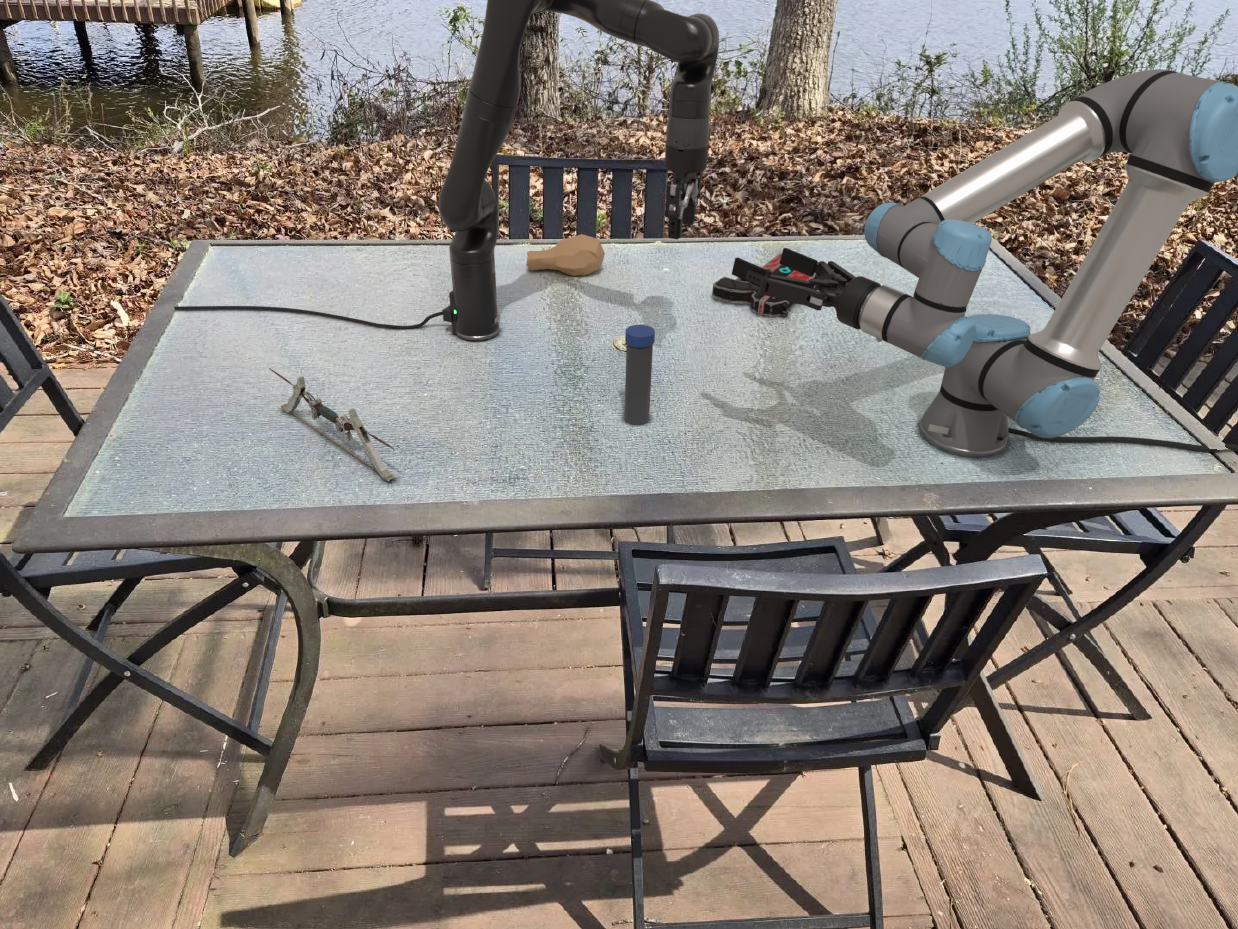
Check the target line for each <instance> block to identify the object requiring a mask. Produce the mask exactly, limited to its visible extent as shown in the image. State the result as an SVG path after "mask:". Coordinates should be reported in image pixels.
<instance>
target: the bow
mask: <svg viewBox="0 0 1238 929" xmlns="http://www.w3.org/2000/svg"><path fill="white" fill-rule="evenodd" d="M269 370H270V371H271V372H272V373H274V374H275V375H277V376H278V377H279V378H281V379H282V380H283V381H285V382H286V383H288V384H289V385H291V386H292V389H293V391H292V395H291V396H290V397H289V398H288V400H287V403H284V404H282V405H280V409H281V410H282V411H283V412H285V413H288V414H289V413H290V414H292V415H293V416H295V417H296V418H297V419H299V420H300V421H302V422H303V423H305V425H308V426H309V427H310V428H312V429H314V430H315V431H316V432H318V433H319V434H321V435H323V436H324V437H325V438H327V439H328V440H330V441H331V442H333V443H334V444H336V445H337V446H339V447H340V448H342V449H343V450H344V451H346V452H347V453H349V454H350V455H352V456H353V457H355V458H356V459H358V460H359V461H360V462H362V463H363V464H365V465H366V466H368V467H369V468H371V469H372V470H374V471H375V472H377V473H378V474H379V476H380V477H381V478H382V480H384V481H386V482H388V483H389V482H391V480H396V479H395V478H396V477H395V476H393V474H392V473H391V472H390V471H389V470H388V469H387V468H386V466H385V465H384V462H383V461H382V458H381V457H380V454H379V452H378V451H377V450H376V448H375V446H374V444H373V443H372V440H371V438H370V437H372V438H373V439H375V440H376V441H378V442H379V443H381V444H383V445H384V446H387V447H388V448H390V449H392V450H394V449H395V447H393V446H392V445H390V444H389V443H387V442H385V441H384V440H382V439H381V438H380V437H378V436H376V435H373V434H372V433H370V432H368V430H367V429H366V427H365V426H364V424H363V422H362V420H361V419H360V417H359V415H358V412H357V411H356V408H354V407H353V408H350V409H348V415H349V416H348V415H347V414H343V415H341V416H339V415H338V413H337V412H336V411H334V410H333V409H331V408H330V407H327V406H326V405H324V404H323V401H322V398H321V397H317V398H315V397H314V396H313V394H311V393H310V392H309V391H306V387H307V385H306V380H305V377H304V375H302V376H300V377H299V376H298V377H297V380H296V383H295V384H293V383H292V382H291V381H290V380H289V379H287V378H286V377H284V376H283V375H282V374H280V373H278V372H277V371H275V370H274V369H272V368H270V367H269ZM302 398H303V399H304V401H305V402H306V403H307V404H308V407H309V408H310V415H311V417H310V418H311V419H312V420H313V421H314V420H317V419H320V416H322V417H323V418H325V419H326V420H327V421H329V422H330V423H332V424H334V427H335V429H336V431H337V432H339V433H342V434H343V436H342V437H343V438H344V441H345V442H346V443H348V442H350V441H353V440H354V438H353V435H352V434H353V433H351V431H354V432H355V434H356V435H357V437H358V438H359V441H360V443H361V444H362V447H363V448H364V451H365V453H366V454H367V456H368V457H369V459H370V461H371V463H372V465H373V466H372V465H370V464H368V462H366V461H364V460H363V459H361V458H360V457H358V456H357V455H356V454H354V453H352V452H351V451H349V450H348V449H347V448H345V447H344V446H342V445H341V444H339V443H338V442H336V441H335V440H333V439H332V438H331V437H329V436H328V435H326V434H325V433H323V432H322V431H320V430H319V429H317V428H316V427H315V426H312V424H310V423H308V422H307V421H305V420H304V419H303V418H302V417H299V415H297V414H295V413H294V411H295V410H296V409H297V408H298V406H299V404H300V403H301V400H302Z"/></svg>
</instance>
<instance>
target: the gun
mask: <svg viewBox="0 0 1238 929" xmlns="http://www.w3.org/2000/svg"><path fill="white" fill-rule="evenodd" d="M781 255H782V252H780V253H778V254H777V255H775V256H774V257H773V258H771V259H770V260H768V261H767V262H766V263H765V264H763V265H762V266H761V267H762V268H764V269H766V270H767V269H770V270H771V274H773V275H778V276H784V277H789V278H795V279H801V280H806V281H808V280H810V279H811V278H813V279H814V278H815V274H816V273H814V276H812V277H810V276H808V275H805V274H803V273H800V272H798V271H796V270H793V269H791V268H788V267H786V266H784V265H781V264H779V263H780V259H781ZM818 263H819V261H818ZM759 288H760V287H759V286H757V285H754V284H752V283H750V282H748V281H745V280H743V279H741V278H739V277H737V278H735V279H734V278H731V277H727V276H722V277H720V279H717V281H715V282H713V283H712V291H711V297H713V298H714V299H716V300H719V301H723V302H727V303H730V304H750V305H749V308H750V310H751V312H753V313H755V314H757V315H758V316H760V317H761V316H765V317H770V318H771V317H777V316H780V317H784V318H787V317H788V315H789V311H788V310H790V309H791V308H792V307H793V306H794V305H795V304H796V303H793V302H789V301H785V300H781V299H778V298H774V297H770V296H766V295H761V294H759V293H758V292H759ZM814 288H815V286H814Z"/></svg>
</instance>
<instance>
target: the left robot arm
mask: <svg viewBox="0 0 1238 929" xmlns="http://www.w3.org/2000/svg"><path fill="white" fill-rule="evenodd" d="M540 12H550V13H558V14H564V15H568V16H571V17H574V18H576V19H579V20H582V21H583V22H585V23H587V24H589V25H590V26H592V27H594V28H595V29H597V30H599V31H601V32H602V33H603V34H606V35H609V36H611V37H613V38H616V39H620V40H622V41H624V42H628V43H631V44H634V45H638V46H640V47H645V48H648V49H649V50H651V51H653V52H655V53H657V54H658V55H660V56H663V57H664V58H666V59H668V60H670V61H673V62H675V63H678V64H677V70H676V75H675V77H674V78H673V81H672V82H671V86H670V89H669V90H670V91H669V108H668V119H667V122H666V133H665V134H666V136H665V151H664V152H665V154H664V167H665V169H667V170H668V171H671V172H672V173H673V179H672V180H671V182H667V184H666V186H665V187H666V188H665V189H666V191H665V203H664V204H665V205H664V213H663V214H664V218H668V232H667V234H668V235H667V237H668V238H669V239H672V240H680V238H681V236H682V225H685V226H686V225H687V226H693V225H694V224H695V220H696V219H695V218H696V205H697V204H698V202H699V201H698V199H700V198H701V195H702V194H701V193H702V192H701V191H702V176H703V172H704V171H705V170H706V169H707V166H708V165H707V164H708V153H709V142H710V110H711V109H710V108H711V99H712V98H711V97H712V96H711V95H712V94H711V93H712V91H711V89H712V83H713V80H714V74H715V70H716V67H717V66H716V65H717V60H718V55H719V48H720V31H719V28H718V24H717V23H716V21H715V20H714V19H713V18H712V17H711V16H710V15H708V14H705V13H694V14H691V15H689V16H686V15H683V14H679V13H677V12H676V13H675V12H673V11H670V10H667V9H665V7H663V5H661V4H660V3H659V2H656V1H654V0H486V8H485V15H484V23H483V30H482V35H481V39H480V43H479V47H478V51H477V54H476V59H475V63H474V68H473V72H472V75H471V79H470V82H469V86H468V89H467V94H466V99H465V103H464V107H463V113H462V117H461V122H460V125H459V130H458V134H457V138H456V143H455V148H454V152H453V156H452V158H451V163H450V165H449V168H448V171H447V174H446V177H445V179H444V181H443V185H442V187H441V190H440V192H439V197H438V206H437V207H438V212H439V217H440V218H441V220H442V222H443V223H444V224H445V226H446V227H447V228H449V229H450V230H452V231H455V233H454V236H453V238H452V240H451V241H450V244H449V246H448V250H449V263H450V264H449V265H450V275H451V276H450V277H451V286H452V290H451V291H450V292H448V297H449V305H448V306H446V307H445V308H443V309H442V311H438V312H436V313H432V314H430V315H428V316H427V317H425V318H424V319H423V320H422V321H421V322H419V323H417V324H412V325H411V324H410V325H399V324H398V325H397V324H385V323H378V322H372V321H368V320H367V321H366V320H363V319H358V318H353V317H350V316H349V317H348V316H344V315H338V314H332V313H327V312H323V311H315V310H307V309H299V308H293V307H292V308H290V307H282V306H281V307H280V306H279V307H278V306H263V305H261V306H260V305H189V306H184V305H183V306H181V305H179V306H173V309H174V310H175V311H192V310H193V311H194V310H195V311H196V310H198V311H200V310H201V311H203V310H206V311H207V310H253V311H254V310H256V311H257V310H258V311H259V310H261V311H278V312H290V313H298V314H305V315H306V314H307V315H312V316H313V315H314V316H319V317H326V318H331V319H337V320H342V321H347V322H352V323H356V324H362V325H365V326H370V327H375V328H381V329H385V328H386V329H392V330H412V329H413V330H414V329H419V328H421V327H423V326H425V325H426V324H427V323H428V322H429V321H430V320H431V319H434V318H436V317H437V318H438V317H440V316H442V319H443V322H447V323H451V332H452V334H453V335H456V336H457V337H458V338H460V339H462V340H464V341H470V342H479V341H481V342H482V341H486V340H487V341H488V340H491V339H493V338H494V337H495V338H496V337H497V335H499V333H500V325H499V320H500V314H499V312H498V311H499V310H498V296H497V295H498V294H497V293H498V292H497V276H496V275H497V274H496V261H495V259H496V258H495V248H496V245H497V240H498V207H497V206H498V205H497V198H496V194H495V192H494V189H493V187H492V185H491V184H490V183H489V182H488V181H487V180H486V177H487V174H488V171H489V169H490V167H491V165H492V163H493V161H494V160H495V158H496V156H497V154H498V153H499V151H500V149H501V148H502V146H503V145H504V142H505V140H506V139H507V136H508V134H509V133H510V130H511V128H512V125H513V122H514V120H515V115H516V112H517V108H518V104H519V102H520V101H519V100H520V95H521V72H520V53H521V45H522V41H523V39H524V36H525V33H526V29H527V26H528V24H529V21H530V19H531V16H532V14H536V13H540ZM674 208H675V210H674Z"/></svg>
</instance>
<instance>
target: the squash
mask: <svg viewBox="0 0 1238 929" xmlns="http://www.w3.org/2000/svg"><path fill="white" fill-rule="evenodd" d="M605 254H606V253H605V250H604V248H603V245H602V243H601V241H600V239H599V238H596V237H593V236H590V235H587V234H582V233H580V234H578V235H575V236H572V237H567V238H562V239H561V240H560V241H558V243H557V242H556V245H555V246H553V247H551V248H549V249H543V250H529V251H527V252H526V257H527V258H526V267H527V268H528V270H529V271H530V272H531V271H539V270H554V271H555V270H556V271H559V272H561V273H564V274H567V275H569V276H572V277H577V276H578V277H579V276H580V277H581V276H587V275H589V274H591V273H594V272H596V271H597V270H599V269H601V267H602V266H603V262H604V259H605Z"/></svg>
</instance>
